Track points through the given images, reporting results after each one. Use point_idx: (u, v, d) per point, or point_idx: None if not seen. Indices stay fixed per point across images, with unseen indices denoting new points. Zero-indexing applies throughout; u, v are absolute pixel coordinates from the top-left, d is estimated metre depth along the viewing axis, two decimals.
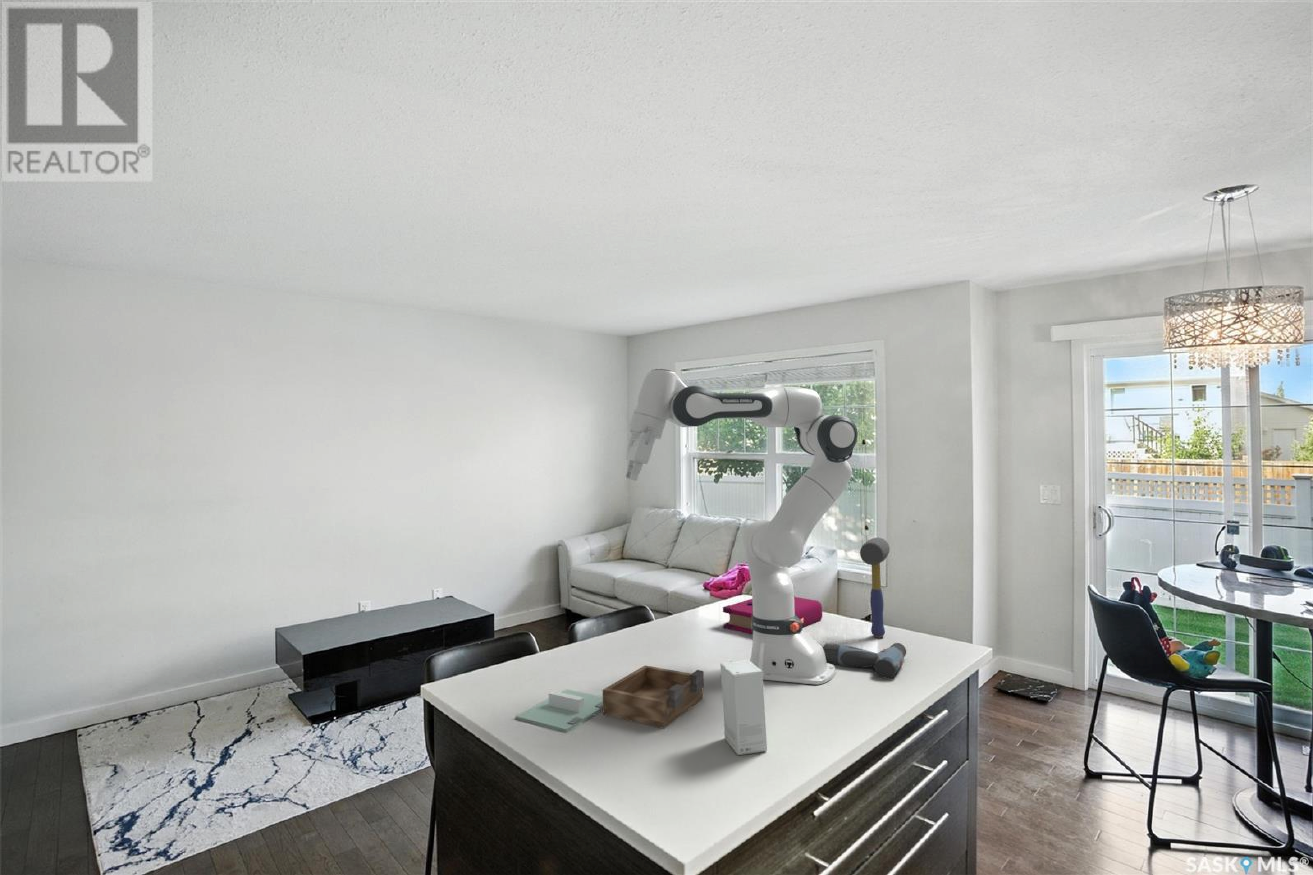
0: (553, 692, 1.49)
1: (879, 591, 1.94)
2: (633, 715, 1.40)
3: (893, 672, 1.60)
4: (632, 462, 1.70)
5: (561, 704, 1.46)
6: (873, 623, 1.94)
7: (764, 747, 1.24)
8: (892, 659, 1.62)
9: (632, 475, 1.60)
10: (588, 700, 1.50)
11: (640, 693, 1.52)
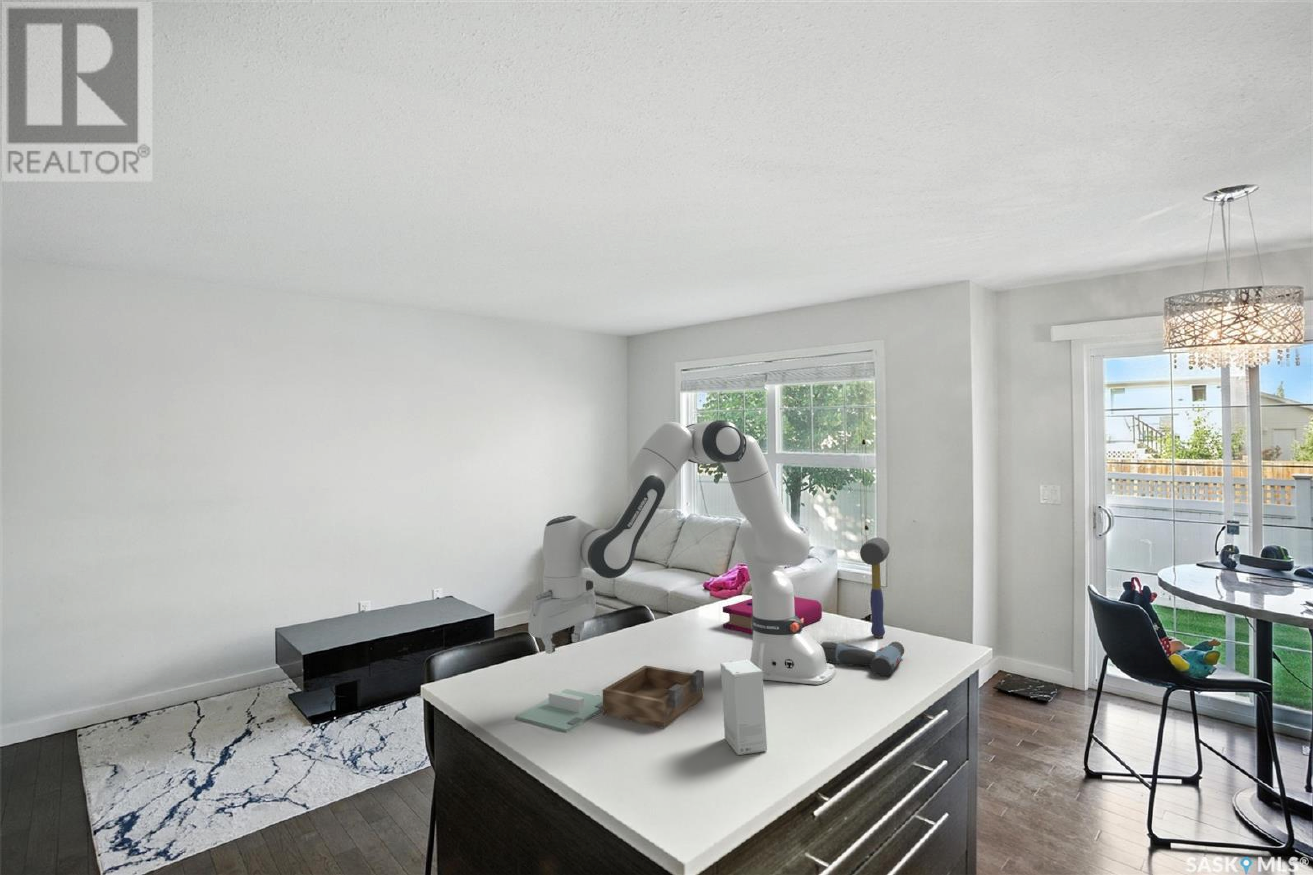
0: (553, 692, 1.49)
1: (879, 591, 1.94)
2: (633, 715, 1.40)
3: (889, 670, 1.61)
4: None
5: (561, 704, 1.46)
6: (873, 623, 1.94)
7: (764, 747, 1.24)
8: (888, 657, 1.63)
9: (546, 648, 1.43)
10: (588, 700, 1.50)
11: (640, 693, 1.52)
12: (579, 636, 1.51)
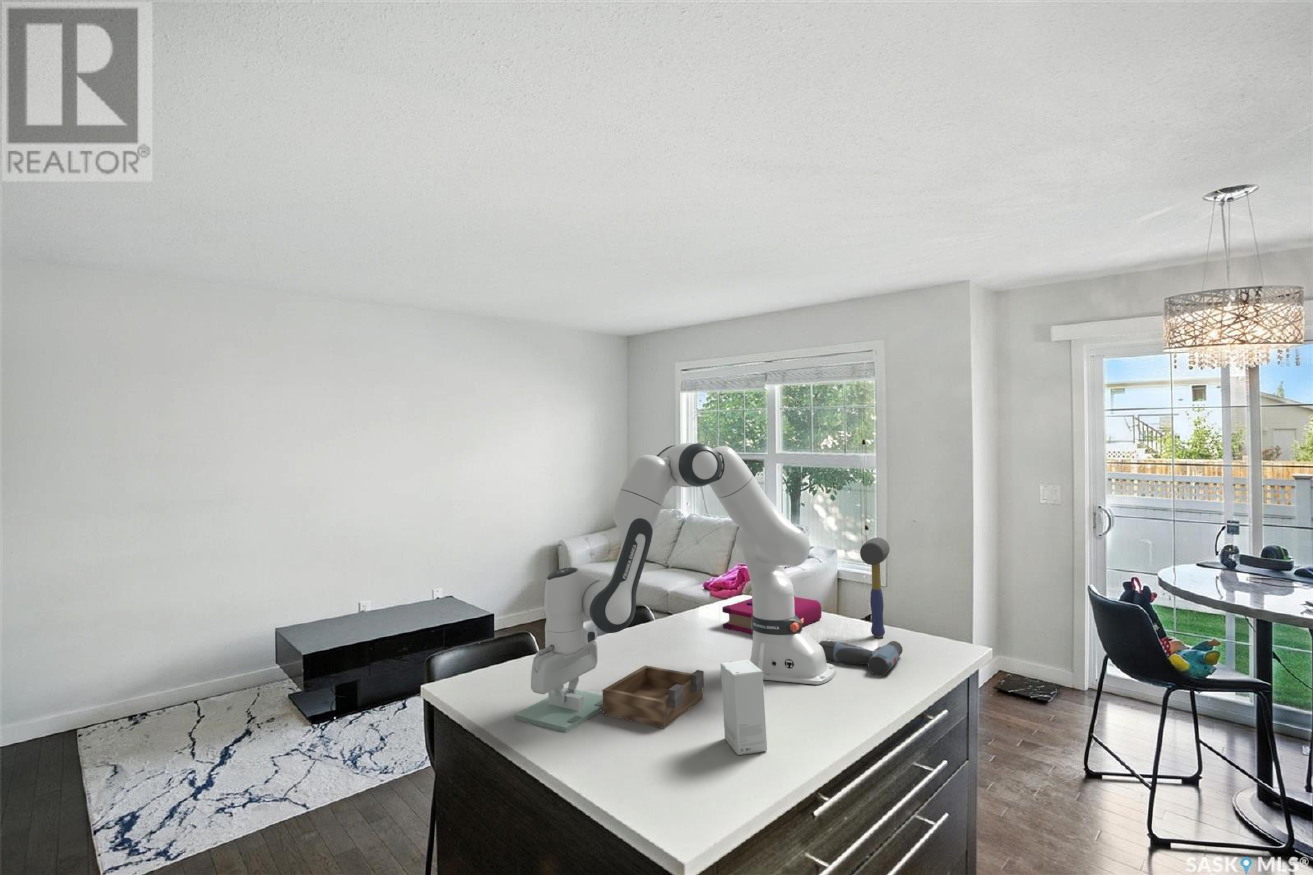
0: (553, 691, 1.49)
1: (879, 591, 1.94)
2: (633, 715, 1.40)
3: (886, 669, 1.62)
4: None
5: None
6: (873, 623, 1.94)
7: (764, 747, 1.24)
8: (885, 656, 1.64)
9: (557, 698, 1.45)
10: (588, 699, 1.50)
11: (640, 693, 1.52)
12: (573, 692, 1.48)
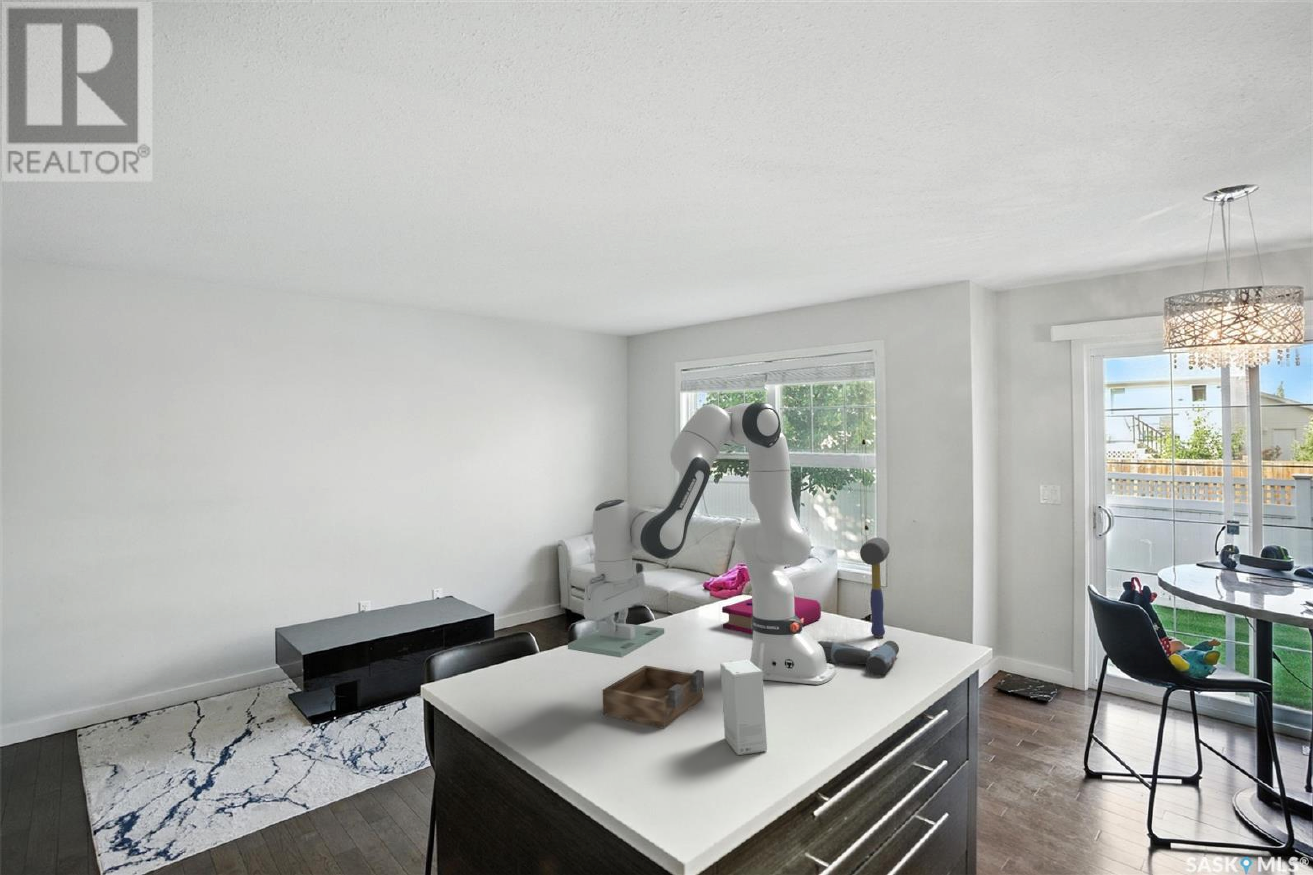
0: (603, 622, 1.50)
1: (879, 591, 1.94)
2: (633, 715, 1.40)
3: (884, 669, 1.62)
4: None
5: None
6: (873, 623, 1.94)
7: (764, 747, 1.24)
8: (883, 656, 1.64)
9: (609, 628, 1.46)
10: (637, 630, 1.51)
11: (640, 693, 1.52)
12: (623, 622, 1.49)
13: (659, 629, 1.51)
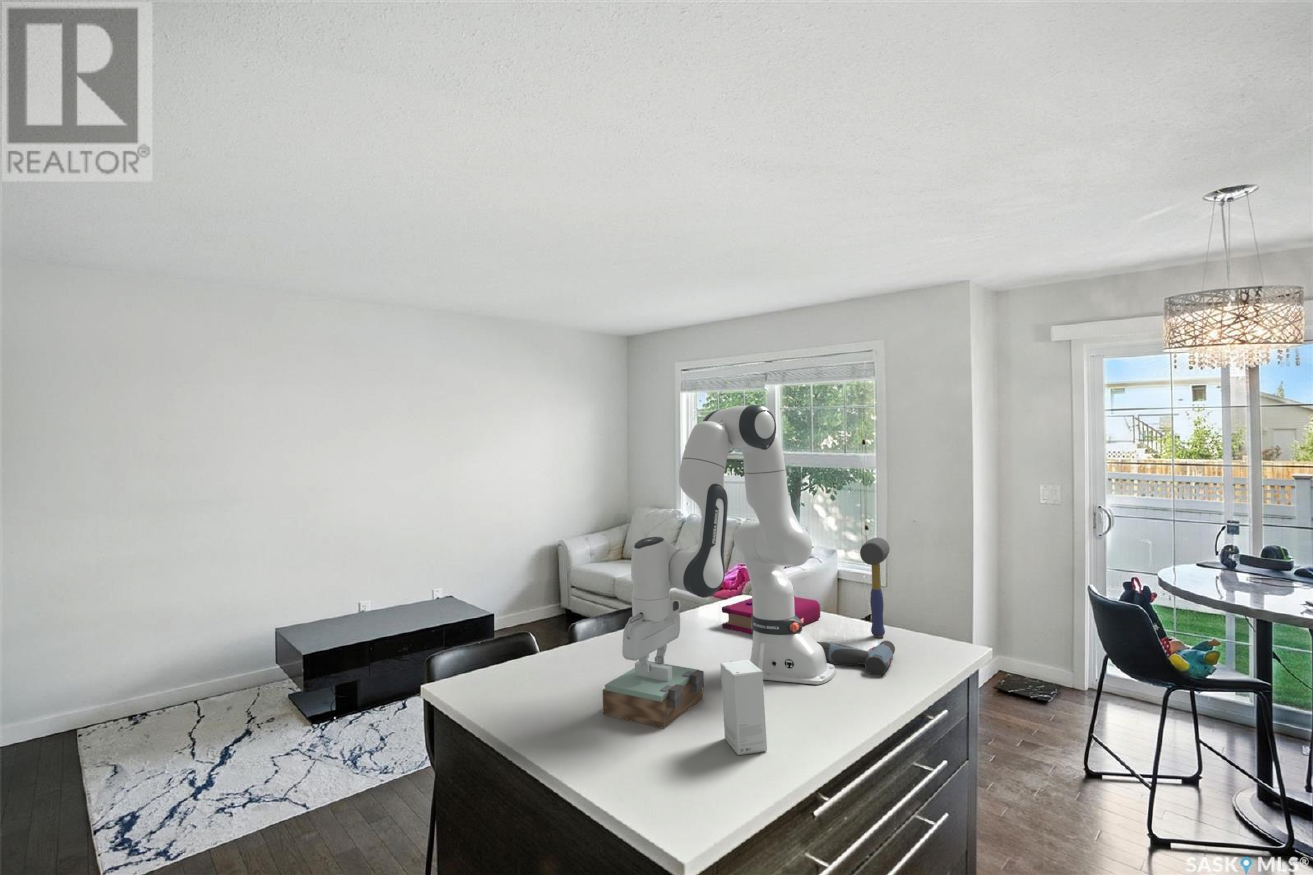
0: (639, 662, 1.50)
1: (879, 591, 1.94)
2: (633, 715, 1.40)
3: (883, 669, 1.62)
4: None
5: (648, 673, 1.47)
6: (873, 623, 1.94)
7: (764, 747, 1.24)
8: (882, 656, 1.64)
9: (642, 668, 1.45)
10: (673, 671, 1.51)
11: None
12: (662, 659, 1.50)
13: (695, 670, 1.51)
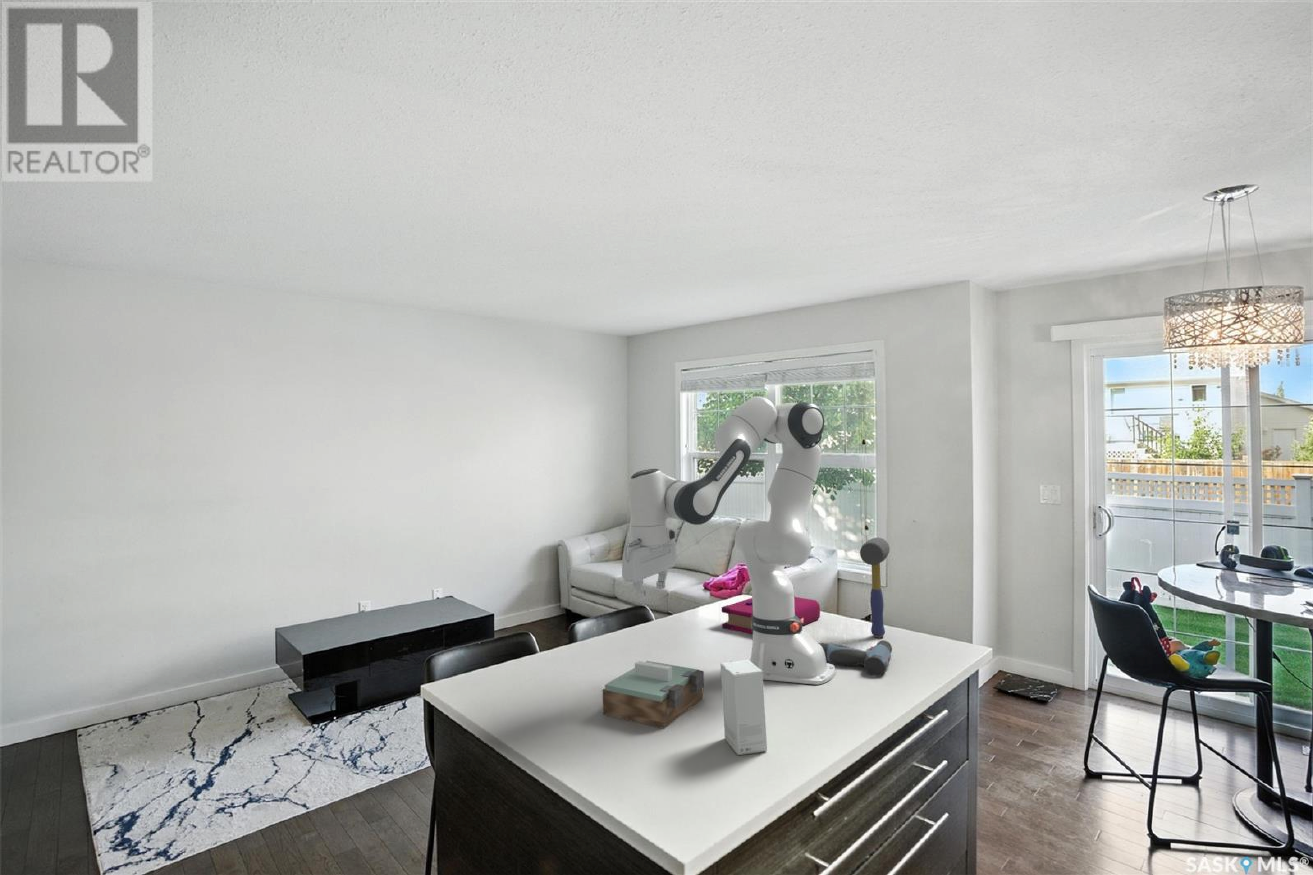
0: (639, 662, 1.50)
1: (879, 591, 1.94)
2: (633, 715, 1.40)
3: (883, 669, 1.62)
4: None
5: (648, 673, 1.47)
6: (873, 623, 1.94)
7: (764, 747, 1.24)
8: (881, 656, 1.64)
9: (637, 593, 1.50)
10: (673, 671, 1.51)
11: None
12: (663, 583, 1.58)
13: (695, 670, 1.51)
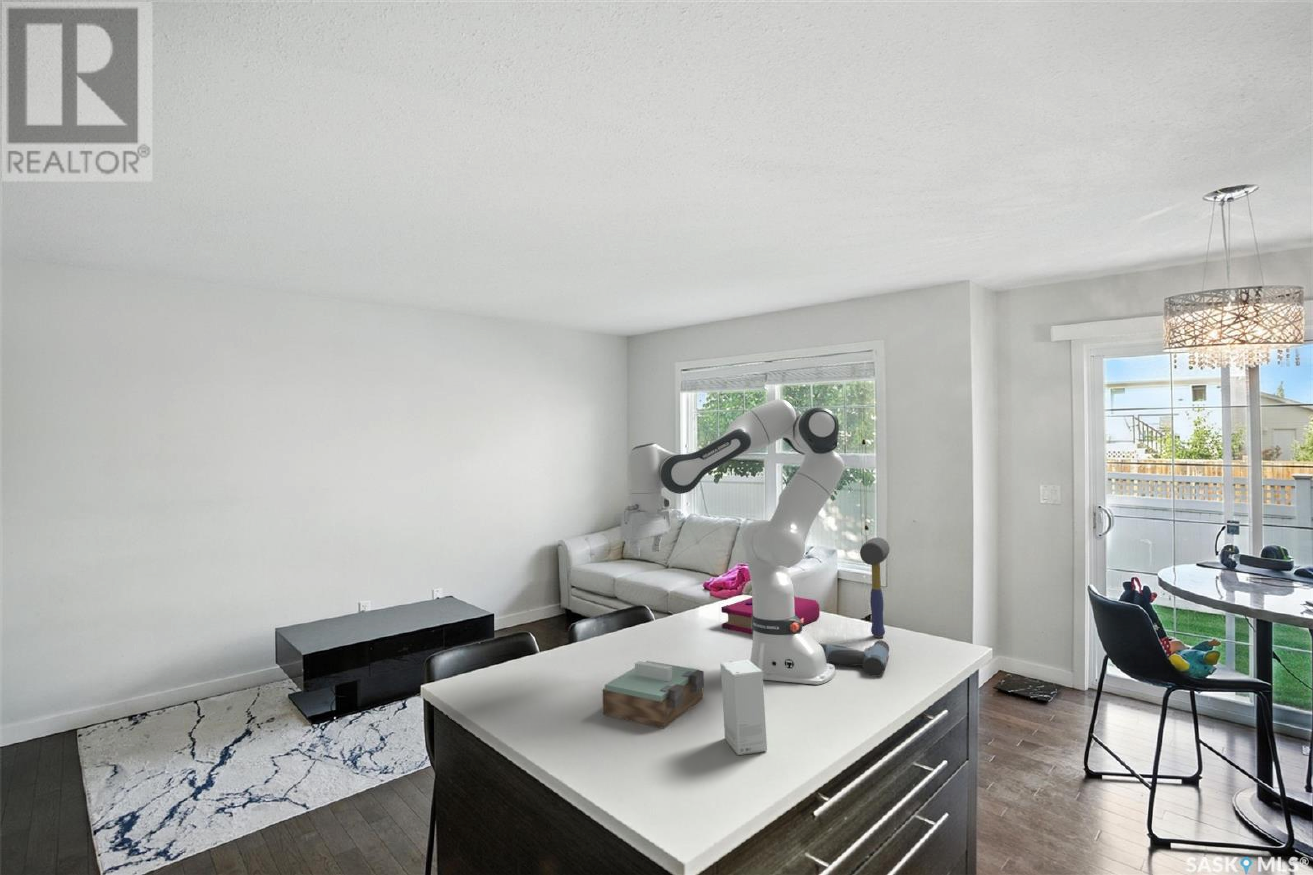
0: (639, 662, 1.50)
1: (879, 591, 1.94)
2: (633, 715, 1.40)
3: (882, 669, 1.62)
4: None
5: (648, 673, 1.47)
6: (873, 623, 1.94)
7: (764, 747, 1.24)
8: (880, 656, 1.64)
9: (634, 553, 1.69)
10: (673, 671, 1.51)
11: None
12: (658, 546, 1.77)
13: (695, 670, 1.51)
